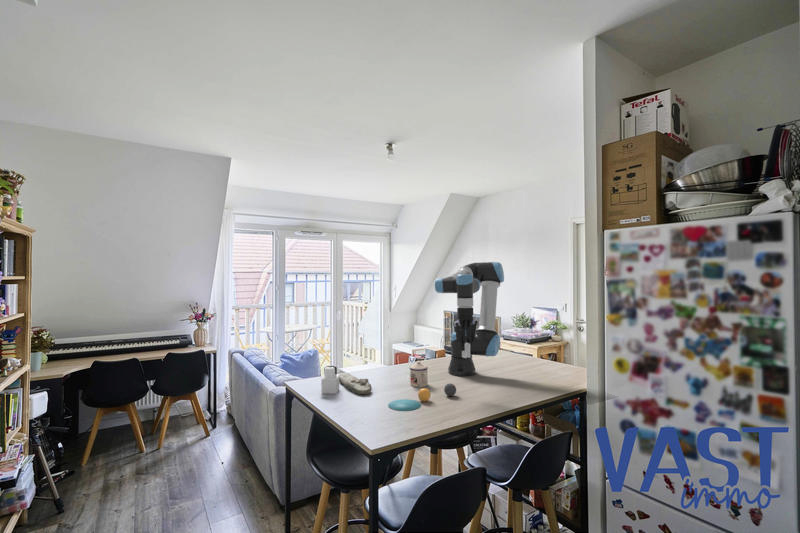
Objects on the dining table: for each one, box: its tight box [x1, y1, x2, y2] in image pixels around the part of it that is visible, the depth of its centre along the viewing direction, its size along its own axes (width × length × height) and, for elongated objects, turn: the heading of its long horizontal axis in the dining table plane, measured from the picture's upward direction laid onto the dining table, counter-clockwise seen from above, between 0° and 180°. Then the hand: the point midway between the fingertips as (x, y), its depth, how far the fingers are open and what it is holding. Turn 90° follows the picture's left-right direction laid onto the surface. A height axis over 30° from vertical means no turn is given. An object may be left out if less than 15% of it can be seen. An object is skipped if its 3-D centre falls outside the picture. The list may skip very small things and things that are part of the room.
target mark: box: [387, 398, 422, 412], centre depth 165 cm, size 14×14×1 cm
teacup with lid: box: [409, 360, 429, 388], centre depth 194 cm, size 12×9×12 cm
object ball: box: [417, 387, 431, 402], centre depth 170 cm, size 6×6×6 cm
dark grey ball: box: [443, 383, 457, 397], centre depth 177 cm, size 6×6×6 cm
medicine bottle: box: [321, 365, 340, 395], centre depth 186 cm, size 7×7×12 cm
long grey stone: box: [338, 372, 373, 395], centre depth 194 cm, size 35×5×10 cm
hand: (466, 357), depth 182 cm, fingers closed
